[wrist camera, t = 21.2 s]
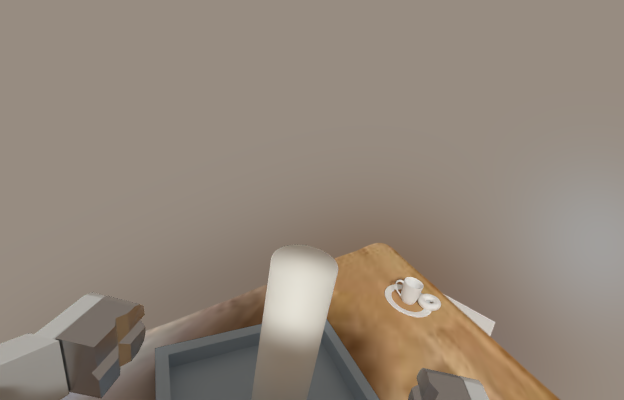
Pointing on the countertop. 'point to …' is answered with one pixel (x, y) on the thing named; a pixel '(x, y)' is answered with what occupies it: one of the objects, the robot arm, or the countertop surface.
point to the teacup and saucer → (413, 292)
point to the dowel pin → (293, 321)
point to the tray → (249, 368)
